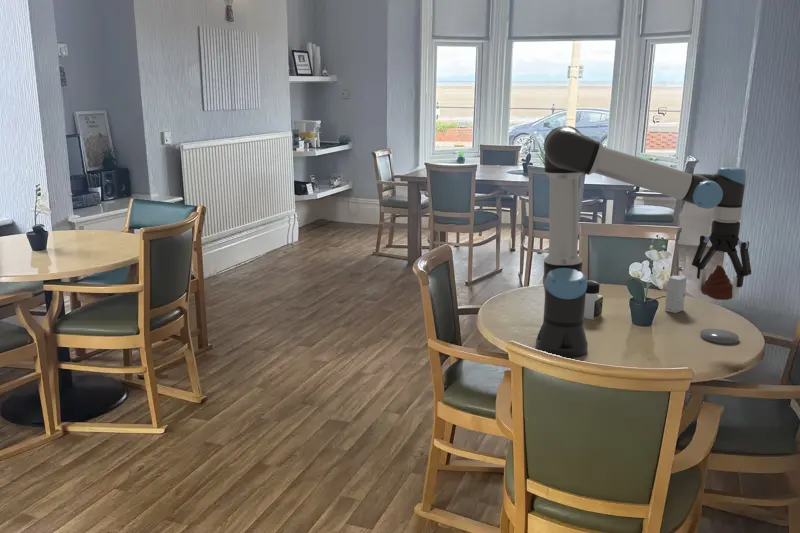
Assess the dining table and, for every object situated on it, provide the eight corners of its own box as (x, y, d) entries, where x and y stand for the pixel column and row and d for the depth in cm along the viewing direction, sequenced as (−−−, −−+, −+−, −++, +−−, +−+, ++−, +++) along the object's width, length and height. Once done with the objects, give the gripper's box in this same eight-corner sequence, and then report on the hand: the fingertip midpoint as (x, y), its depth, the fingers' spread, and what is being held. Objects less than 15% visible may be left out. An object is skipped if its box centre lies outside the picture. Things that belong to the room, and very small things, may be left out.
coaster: (728, 347, 212) (729, 343, 212) (693, 337, 220) (694, 333, 220) (744, 338, 219) (744, 335, 219) (710, 329, 227) (710, 326, 227)
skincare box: (676, 313, 243) (679, 280, 240) (663, 310, 246) (667, 277, 243) (683, 309, 247) (687, 277, 244) (671, 307, 250) (675, 274, 247)
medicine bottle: (593, 320, 235) (596, 286, 232) (573, 316, 239) (576, 282, 236) (601, 315, 240) (604, 281, 237) (582, 311, 245) (584, 278, 242)
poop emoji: (694, 292, 214) (697, 262, 212) (718, 290, 216) (722, 261, 214) (715, 301, 205) (719, 270, 202) (740, 299, 206) (744, 269, 204)
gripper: (771, 224, 199) (761, 299, 204) (696, 213, 215) (689, 283, 221) (759, 227, 194) (749, 304, 200) (684, 216, 211) (676, 287, 216)
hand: (717, 293), depth 210 cm, fingers closed on poop emoji, 9 cm apart
